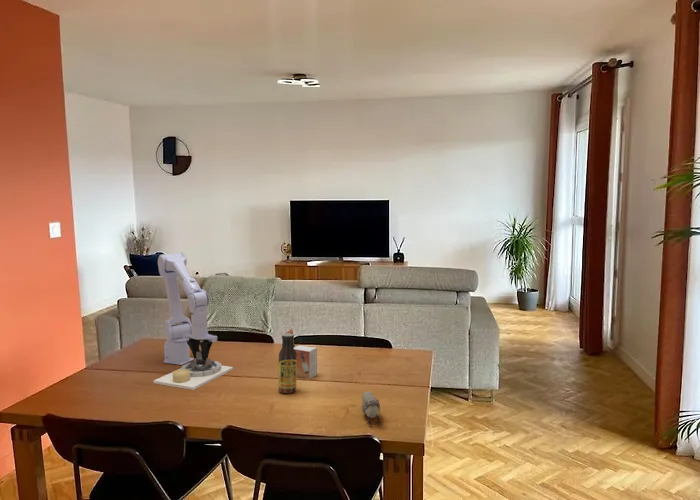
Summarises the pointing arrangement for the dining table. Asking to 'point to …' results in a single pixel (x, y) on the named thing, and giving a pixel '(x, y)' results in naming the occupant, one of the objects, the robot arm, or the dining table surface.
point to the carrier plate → (193, 380)
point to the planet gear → (200, 362)
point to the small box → (306, 361)
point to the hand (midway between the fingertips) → (200, 358)
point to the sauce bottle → (287, 365)
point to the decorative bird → (370, 406)
